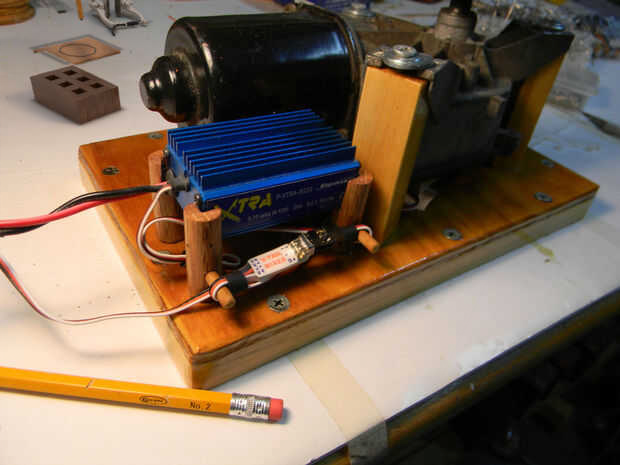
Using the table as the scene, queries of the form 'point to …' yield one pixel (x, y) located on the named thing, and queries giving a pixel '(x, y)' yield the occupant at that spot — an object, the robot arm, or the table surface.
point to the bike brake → (104, 9)
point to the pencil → (79, 9)
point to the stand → (76, 94)
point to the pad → (80, 50)
